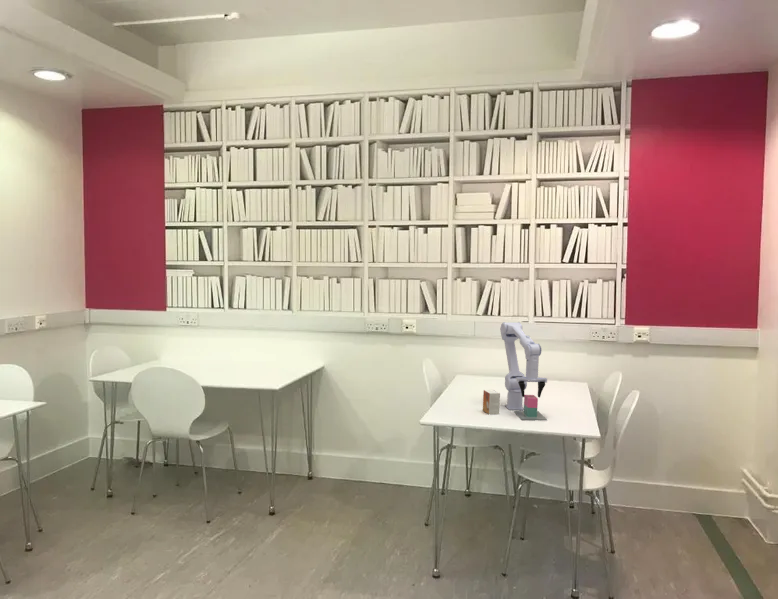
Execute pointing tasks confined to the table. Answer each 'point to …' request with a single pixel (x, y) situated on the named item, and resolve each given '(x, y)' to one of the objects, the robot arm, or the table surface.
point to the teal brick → (530, 411)
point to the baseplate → (524, 417)
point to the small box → (491, 401)
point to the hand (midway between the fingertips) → (530, 396)
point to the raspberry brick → (531, 401)
